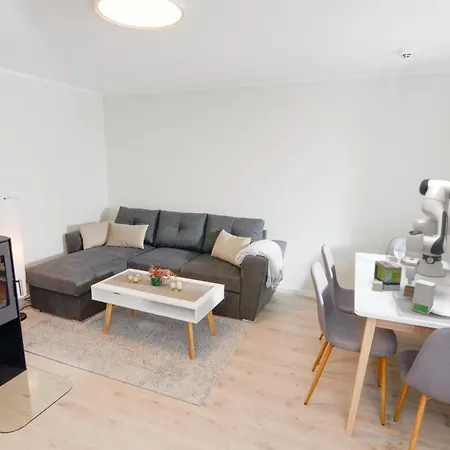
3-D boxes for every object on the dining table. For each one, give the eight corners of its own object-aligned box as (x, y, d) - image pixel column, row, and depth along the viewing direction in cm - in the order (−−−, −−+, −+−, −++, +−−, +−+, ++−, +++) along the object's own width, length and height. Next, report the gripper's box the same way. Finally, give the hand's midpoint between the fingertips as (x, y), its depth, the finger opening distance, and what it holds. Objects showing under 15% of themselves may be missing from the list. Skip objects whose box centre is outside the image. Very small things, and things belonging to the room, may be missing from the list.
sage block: (372, 288, 209) (373, 280, 208) (381, 289, 207) (382, 281, 207) (372, 290, 205) (373, 282, 204) (382, 291, 203) (382, 284, 202)
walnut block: (405, 293, 201) (405, 285, 200) (414, 294, 198) (415, 286, 197) (403, 295, 197) (404, 287, 196) (413, 297, 194) (414, 289, 193)
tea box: (400, 290, 205) (402, 267, 202) (383, 290, 205) (385, 267, 202) (388, 282, 220) (390, 260, 217) (373, 282, 220) (374, 260, 217)
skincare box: (411, 310, 177) (414, 281, 174) (415, 306, 182) (418, 278, 179) (429, 315, 171) (432, 285, 169) (433, 311, 176) (436, 282, 173)
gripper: (409, 254, 204) (407, 276, 206) (404, 261, 187) (401, 285, 190) (421, 256, 200) (419, 278, 202) (417, 263, 184) (414, 288, 186)
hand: (410, 282), depth 196 cm, fingers open, 8 cm apart
